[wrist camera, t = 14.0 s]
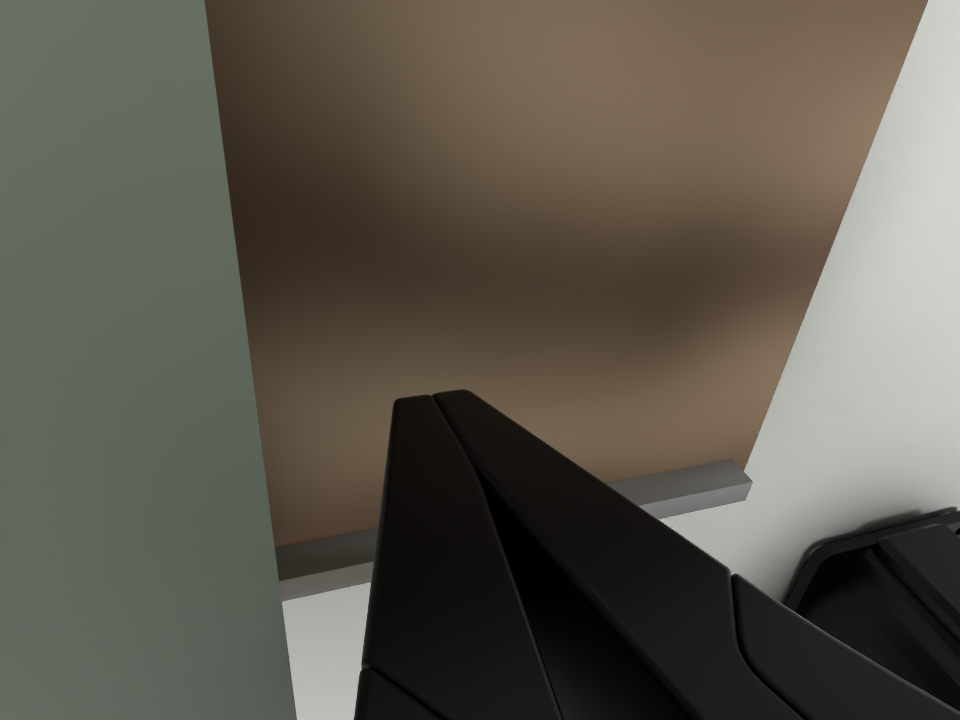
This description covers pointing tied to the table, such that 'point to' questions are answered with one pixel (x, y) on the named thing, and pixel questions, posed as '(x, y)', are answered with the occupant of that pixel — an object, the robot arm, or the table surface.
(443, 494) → the robot arm
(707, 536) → the table surface
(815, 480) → the table surface
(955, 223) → the table surface
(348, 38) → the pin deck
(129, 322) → the housing
